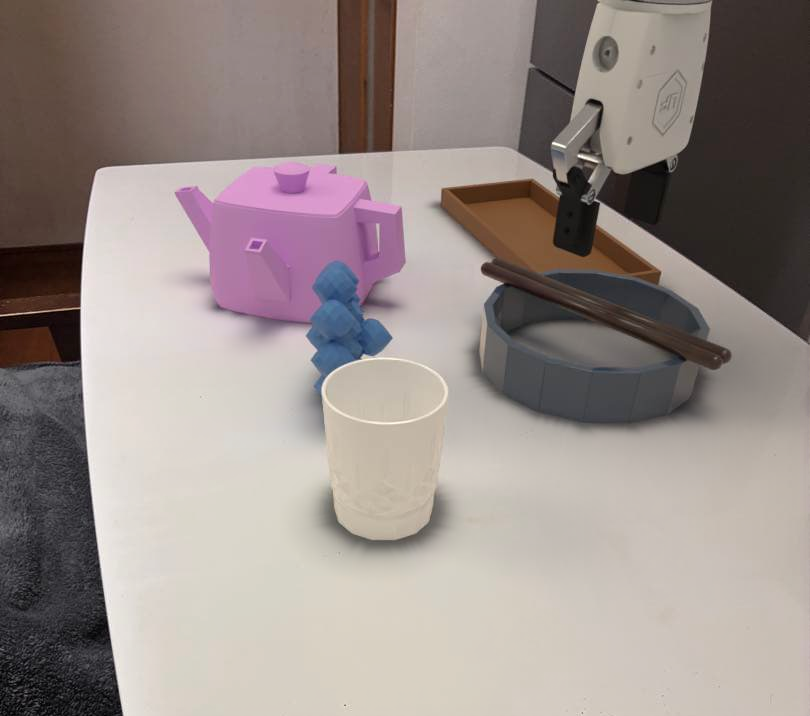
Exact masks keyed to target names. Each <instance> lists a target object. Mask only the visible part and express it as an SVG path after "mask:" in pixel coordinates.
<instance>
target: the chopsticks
mask: <svg viewBox="0 0 810 716" xmlns="http://www.w3.org/2000/svg"><path fill="white" fill-rule="evenodd" d="M480 273H481V274H482V275H483V276H484V277H487V278H490V279H491V280H492V279H493V280H494V281H497V282H499V283H502V284H506V285H509V286H511V287H514V288H516V289H518V290H521V291H523V292H526V293H528V294H530V295H533V296H535V297H538V298H540V299H542V300H545V301H547V302H550V303H552V304H554V305H557V306H559V307H562V308H564V309H566V310H569V311H571V312H574V313H576V314H578V315H581V316H583V317H586V318H588V319H587V320H589V319H590V321H593V322H595V323H597V324H599V325H603V326H605V327H607V328H610V329H612V330H615V331H617V332H620V333H622V334H624V335H627V336H629V337H632V338H634V339H637V340H639V341H641V342H644V343H646V344H647V345H651V346H653V347H655V348H657V349H661V350H663V351H665V352H667V353H669V354H672V355H674V356H676V355H677V356H679V357H682V358H684V359H686V360H689V361H691V362H694V363H696V364H698V365H700V367H704V368H706V369H708V370H711V371H717V370H719V369H720V368H721V367H722V366H723V365H726V364H727V363H729V362H730V361H731V360H732V357H733V356H732V352H731V350H730V349H729V348H726V347H724V346H721V345H719V344H716V343H714V342H711V341H709V340H707V341H706V340H704V339H701V338H699V337H696V336H694V335H691V334H689V333H686V332H684V331H681V330H679V329H676V328H674V327H671V326H669V325H666V324H664V323H661V322H659V321H656V320H654V319H651V318H649V317H646V316H644V315H641V314H639V313H636V312H634V311H631V310H629V309H626V308H624V307H621V306H619V305H616V304H614V303H611V302H608V301H606V300H603V299H601V298H598V297H596V296H593V295H591V294H588V293H586V292H583V291H581V290H578V289H576V288H573V287H571V286H568V285H566V284H563V283H561V282H558V281H556V280H553V279H551V278H548V277H546V276H543V275H541V274H538V273H536V272H533V271H531V270H528V269H526V268H523V267H521V266H518V265H516V264H513V263H510V262H508V261H505V260H503V259H500V258H496V257H494V258H493V259H492V260H491V261H490V262H489V261H485V262H483V263H482V264H481V266H480ZM677 356H676V357H677Z"/></svg>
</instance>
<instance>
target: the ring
mask: <svg viewBox="0 0 810 716" xmlns="http://www.w3.org/2000/svg"><path fill="white" fill-rule="evenodd" d="M538 274H541V275H543V276H546V277H548V278H551V279H553V280H556V281H558V282H561V283H563V284H566V285H568V286H571V287H573V288H576V289H578V290H581V291H583V292H586V293H588V294H591V295H593V296H596V297H598V298H601V299H603V300H606V301H608V302H611V303H614V304H616V305H619V306H621V307H624V308H626V309H629V310H631V311H634V312H636V313H639V314H641V315H644V316H646V317H649V318H651V319H654V320H656V321H659V322H661V323H664V324H666V325H669V326H671V327H674V328H676V329H679V330H681V331H684V332H686V333H689V334H691V335H694V336H696V337H699V338H701V339H704V340H706V341H708V338H709V334H710V332H711V328H710V326H709V324H708V323H707V321H706V320H705V318H704V316H703V314H702V313H701V311H700V309H699V308H698V307H697V306H695V305H693V303H691V302H689V301H688V300H686V299H685V298H683V297H682V296H681V295H679V294H677V293H676V292H675V291H673V290H671V289H670V288H669V289H668V288H666V287H663V286H660V285H656V284H653V283H650V282H647V281H645V280H642V279H639V278H636V277H631V276H626V275H621V274H615V273H610V272H604V271H599V270H569V269H558V270H550V271H544V272H538ZM482 309H483V310H482V319H481V327H480V328H481V329H480V339H479V340H480V341H479V351H478V354H479V361H480V365H481V372H482V374H483V375H484V376H485V377H486V379H488V381H490V383H491V384H492V385H493V386H494V387H495V388H496V390H498V391H499V392H500V393H501V394H502V395H503V396H505V397H507V398H509V399H511V400H513V401H515V402H518V403H519V404H521V405H523V406H525V407H527V408H529V409H530V410H533V411H535V412H538V413H541V414H545V415H549V416H553V417H558V418H562V419H566V420H571V421H576V422H579V423H585V424H587V423H590V424H591V423H593V424H632V423H636V422H641V421H645V420H648V419H649V420H650V419H654V418H657V417H661V416H667V415H668V414H669V413H671V412H673V411H675V409H676V408H678V407H679V406H681V405H683V403H686V402H687V401H688V400H689V399H690V398H691V397H692V394H693V391H694V387H695V384H696V380H697V377H698V372H699V370H700V367H701V365H698V364H696V363H694V362H691V361H689V360H686V359H684V358H682V357H679V356H677V355H675V356H676V358H673V359H672V360H671V359H670V360H666V361H662V362H657V363H652V364H648V365H642V366H638V367H617V366H616V367H615V366H614V367H613V366H607V367H606V366H590V365H585V364H580V363H577V362H573V361H572V362H571V361H567V360H562V359H558V358H553V357H550V356H547V355H546V354H543V353H541V352H538V351H537V350H534V349H532V348H530V347H527V346H526V345H523V344H521V343H520V342H517V341H516V340H515V339H513V337H511V335H509V333H508V332H511V331H513V330H514V329H516V328H518V327H520V326H522V325H528V324H532V323H537V322H544V321H548V320H590V319H588V318H586V317H583V316H581V315H578V314H576V313H574V312H571V311H569V310H566V309H564V308H562V307H559V306H557V305H554V304H552V303H550V302H547V301H545V300H542V299H540V298H538V297H535V296H533V295H530V294H528V293H526V292H523V291H521V290H518V289H516V288H514V287H511V286H509V285H506V284H504V283H502V284H499V285H497V286H496V287H495V288H494V289H493V290H492V292H491V293H490V295H489V296H488V298H487V299H486V300H485V302H484V303H483V307H482ZM590 321H591V320H590Z"/></svg>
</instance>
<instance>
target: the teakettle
mask: <svg viewBox="0 0 810 716" xmlns="http://www.w3.org/2000/svg"><path fill="white" fill-rule="evenodd" d="M337 170H338V169H337V165H329V164H321V163H314V164H313V165H312V166H308V165H307V164H304V163H301V162H295V161H287V162H282V163H279V164H276V165H275V166H273V167H270V166H254V167H253V166H252V167H251V168H249V169H248V170H246V171H244V172H243V173H242V174H241V175H239V176H238V177H237V178H235V179H234V180H233V181H232V182H231V183H230V184H228V186H226V187H225V188H224V189H223V190H222V191H221V192H220V193H219V194H218V195H217V196H216V197H215V198H214V199H213V201H211V199H209V197H207V196H206V195H205V194H204V193H203V192H202V191H201V190H200V189H199V186H198V185H191V186H181V187H180V188H178V189H177V190H175V191H174V195H175V197H176V199H177V201H178V203H179V204H180V205H181V207H182V209H183V211H184V212H185V214H186V216H187V218H188V219H189V221H190V223H191V224H192V226H193V228H194V229H195V231H196V232H197V234H198V236H199V237H200V239H201V241H202V243H203V244H204V246H205V248H206V249H207V251H208V254H209V255H208V257H209V259H208V260H209V278H210V286H211V291H212V294H213V297H214V298H215V301H216V303H217V305H218V307H220V308H221V309H225V310H227V311H232V312H235V313H240V314H244V315H245V314H246V315H250V316H255V317H261V318H266V319H271V320H272V319H273V320H279V321H286V322H295V323H303V324H304V323H305V324H312V322H311V321H310V318H311V317H312V316H313V314H314V313H315V312H316V311H317V309H318V308H319V307H320V306H321V305H322V303H321V301H320V300H319V297H318V296H317V294H316V293H315V292H314V290H313V289H312V286H313V285H314V283H315V282H316V278H317V277H318V276H319V274H320V273H321V272H322V271H323V269H324V268H325V267H326V266H327V265H328V264H329V263H331V262H333V261H341V262H343V263H345V264H346V265H347V266H348V267H349V268H350V269H351V270H352V272H353V273H354V274H355V275H356V277H357V278H358V280H359V281H360V282H359V283H358V284H357V286H356V287H357V288H358V289H357V291H356V294H357V295H358V297H359V298H360V299H361V300H360V302H359V303H358V305H359V306H360V307H361V306H362V305H363V303H364V302H365V300H366V299H367V297H368V296H369V294H370V292H371V291H372V289H373V286H374V284H375V283H376V282H378V281H381V280H384V279H386V278H389V277H392V276H393V275H395V274H397V273H400V272H401V270H402V269H403V268H404V266H405V265H406V263H407V262H406V261H407V260H406V259H407V258H406V248H405V232H404V218H403V206H402V205H398V204H394V203H393V204H392V203H387V202H381V201H375V200H372V196H371V192H370V187H369V183H368V181H367V180H365V179H363V178H359V177H355V176H349V175H344V174H338V171H337ZM377 224H378V225H379V229H377ZM378 235H379V236H378Z"/></svg>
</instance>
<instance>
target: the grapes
mask: <svg viewBox="0 0 810 716" xmlns="http://www.w3.org/2000/svg"><path fill="white" fill-rule="evenodd" d="M359 282H360V281H359V280H358V278H357V277H356V275H355V274H354V273H353V272H352V270H351V269H350V268H349V267H348V266H347V265H346V264H345V263H343V262H341V261H333V262H331V263H329V264H328V265H327V266H326V267H325V268H324V269H323V271H322V272H321V273H320V274H319V276H318V277H317V278H316V282H315V283H314V285H313V286H312V289H313V290H314V292H315V293H316V294H317V296H318V297H319V300H320V301H321V303H322V305H321V306H320V307H319V308H318V309H317V311H316V312H315V313H314V314H313V316H312V317H311V318H310V321H311V322H312V323H311V324H312V325H313V326H311V328H310V329H309V330H308V331H307V333H306V334H305V337H306V338H307V340H308V341H309V342H310V344H311V345H312V346H313V347H314V349H315V350H317V351H316V352H315V353H314V354H313V355H312V357H311V358H310V361H311V363H312V364H313V366H314V367H315V368H316V369H317V371H319V373H320V374H321V376H320V377H319V378H318V380H316V382H315V384H314V385H313V388H314V389H315V390H316V392H317V393H318V395H320V396H321V397H322V392H321V389H322V384H323V382H324V380H325V379H326V377H327V376H328V375H329V374H330V373H331V372H332V371H334V370H335V369H337V368H339V367H340V366H343V365H345V364H347V363H350V362H353V361H357V360H362V359H363V358H362V357H363V355H365V356H368V357H375V356H377V355H379V354H380V353H381V352H383V351H384V350H385V349H386V348H387V346H388V345H390V343H391V341H392V340H393V336H392V334H391V333H390V332H389V331H388V329H387V328H386V326H384V324H383V323H381V322H380V321H379V320H378V319H375V318H370V317H368V318H366V319H365V318H364V314H363V313H364V312H365V311H364V309H363V308H362V307H361V306H359V305H358V303H359V302H360V300H361V299H360V298H359V297H358V295H357V294H356V291H357V289H358V288H357V287H356V286H357V284H358V283H359Z"/></svg>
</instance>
